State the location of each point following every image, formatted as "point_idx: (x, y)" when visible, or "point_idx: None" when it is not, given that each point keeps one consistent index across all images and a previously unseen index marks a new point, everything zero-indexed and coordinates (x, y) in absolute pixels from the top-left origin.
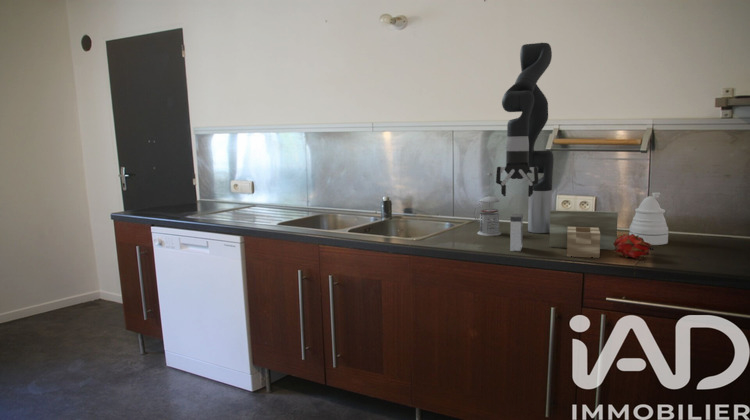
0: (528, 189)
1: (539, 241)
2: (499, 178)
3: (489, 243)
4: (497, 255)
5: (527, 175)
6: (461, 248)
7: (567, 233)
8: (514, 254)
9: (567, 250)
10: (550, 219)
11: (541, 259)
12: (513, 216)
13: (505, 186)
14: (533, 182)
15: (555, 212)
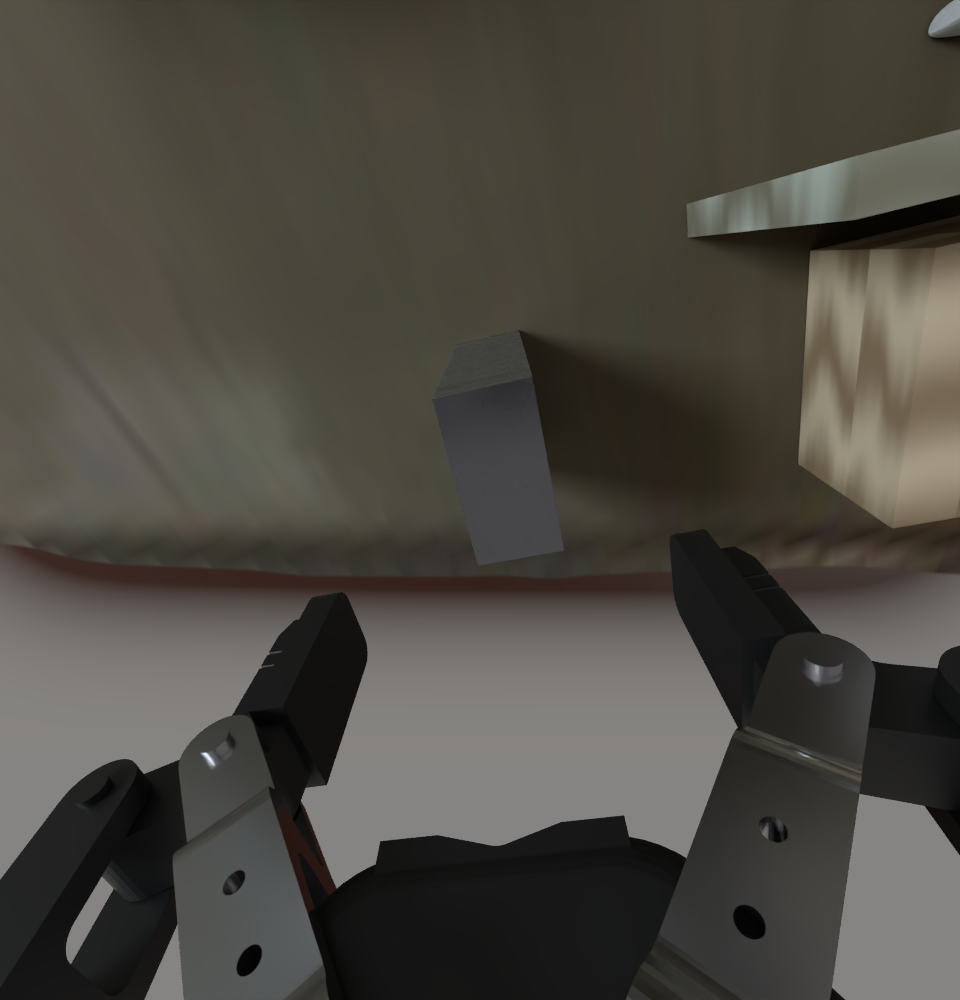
0: (715, 683)
1: (587, 28)
2: (156, 966)
3: (287, 306)
4: (464, 574)
5: (844, 891)
6: (234, 508)
7: (887, 524)
8: None
9: (819, 476)
10: (799, 223)
11: None
12: (492, 535)
13: (319, 752)
14: (892, 775)
15: (914, 201)
